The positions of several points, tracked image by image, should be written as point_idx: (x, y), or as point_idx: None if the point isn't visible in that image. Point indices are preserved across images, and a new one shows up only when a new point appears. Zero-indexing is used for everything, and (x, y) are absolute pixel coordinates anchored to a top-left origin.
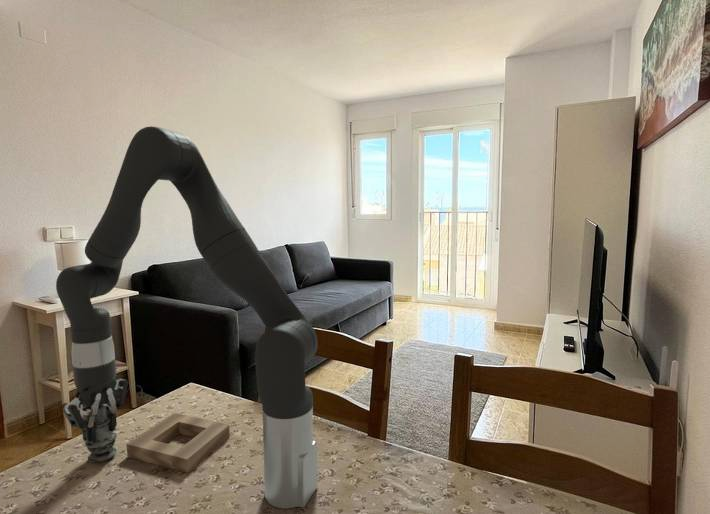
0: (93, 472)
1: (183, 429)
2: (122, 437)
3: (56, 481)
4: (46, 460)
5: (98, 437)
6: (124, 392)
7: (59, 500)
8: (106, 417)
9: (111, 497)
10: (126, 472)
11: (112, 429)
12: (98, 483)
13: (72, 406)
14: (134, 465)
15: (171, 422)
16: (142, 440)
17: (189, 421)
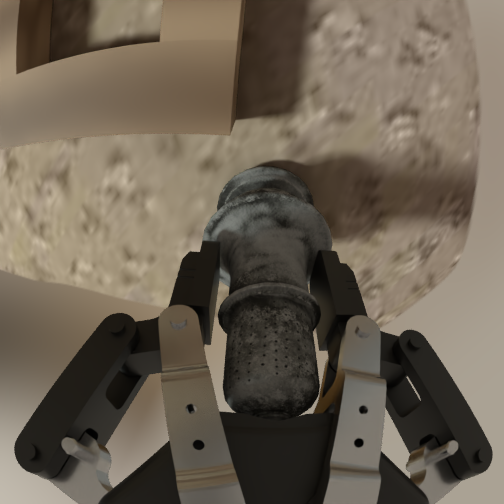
0: (346, 172)
1: (36, 47)
2: (146, 232)
3: (390, 242)
4: None
5: (301, 256)
6: (64, 394)
7: (458, 176)
8: (251, 318)
9: (442, 34)
10: (325, 53)
11: (219, 247)
12: (396, 114)
13: (486, 465)
14: (277, 51)
15: (28, 94)
16: (178, 83)
17: (5, 38)
